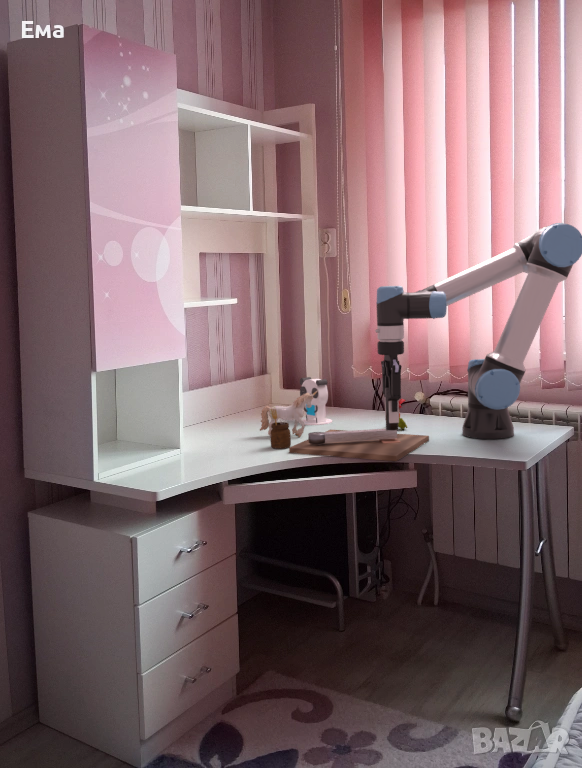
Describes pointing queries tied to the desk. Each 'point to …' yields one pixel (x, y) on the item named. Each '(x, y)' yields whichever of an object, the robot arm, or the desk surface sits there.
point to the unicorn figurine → (288, 413)
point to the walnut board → (364, 447)
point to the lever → (358, 431)
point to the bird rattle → (401, 421)
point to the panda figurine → (315, 401)
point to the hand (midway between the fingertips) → (392, 421)
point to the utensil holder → (280, 433)
